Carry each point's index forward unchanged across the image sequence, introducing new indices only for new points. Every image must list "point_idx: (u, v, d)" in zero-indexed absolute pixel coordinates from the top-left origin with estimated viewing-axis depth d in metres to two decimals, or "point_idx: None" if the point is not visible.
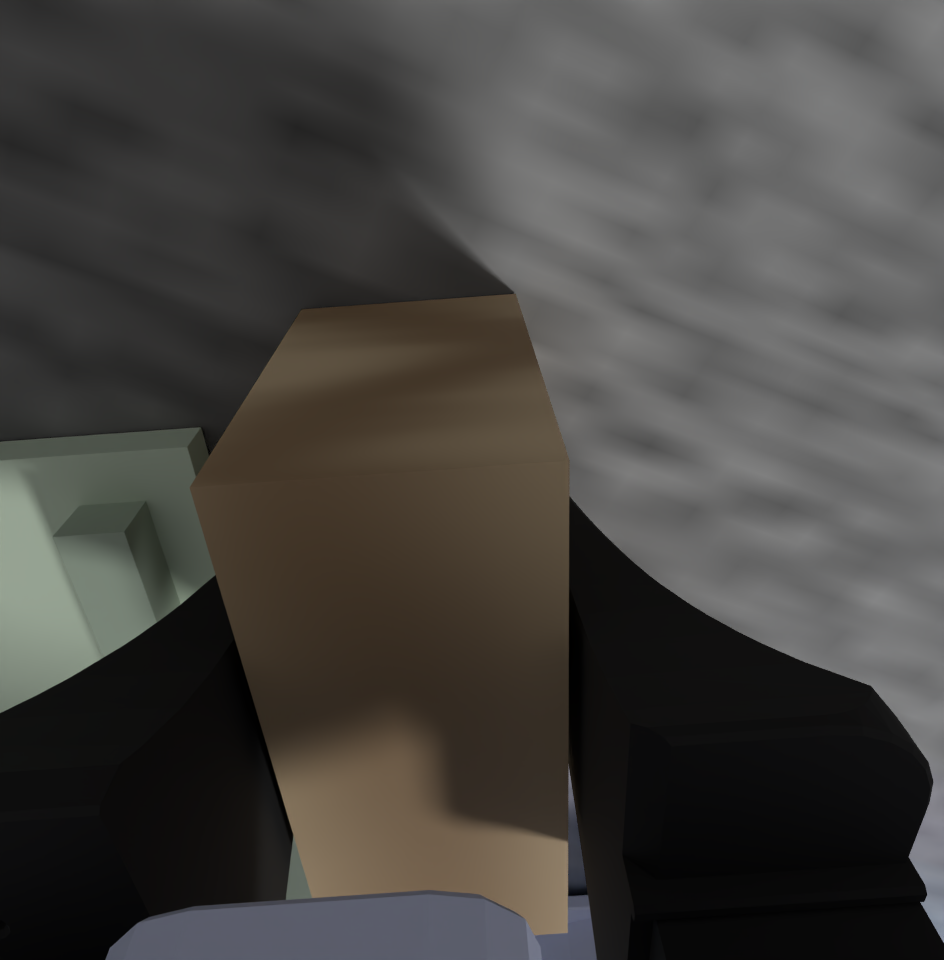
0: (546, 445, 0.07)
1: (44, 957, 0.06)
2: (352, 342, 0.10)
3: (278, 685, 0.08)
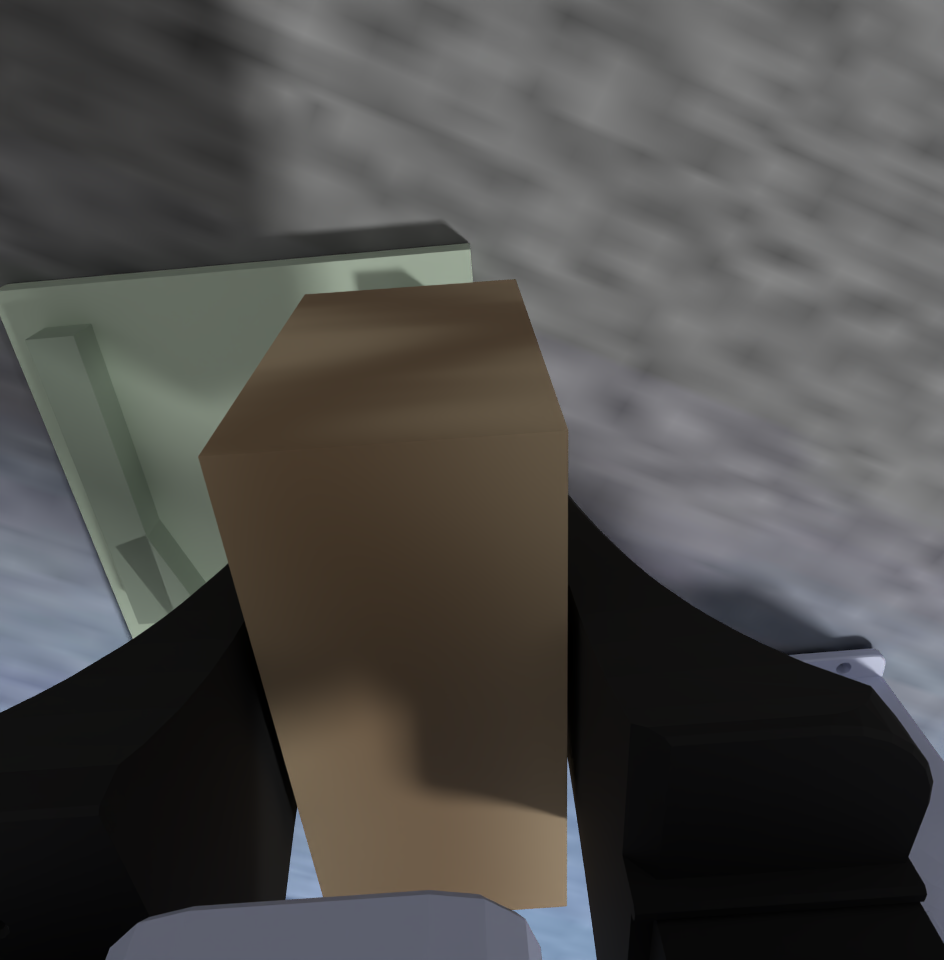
0: (545, 417, 0.07)
1: (43, 957, 0.06)
2: (355, 324, 0.10)
3: (283, 655, 0.08)
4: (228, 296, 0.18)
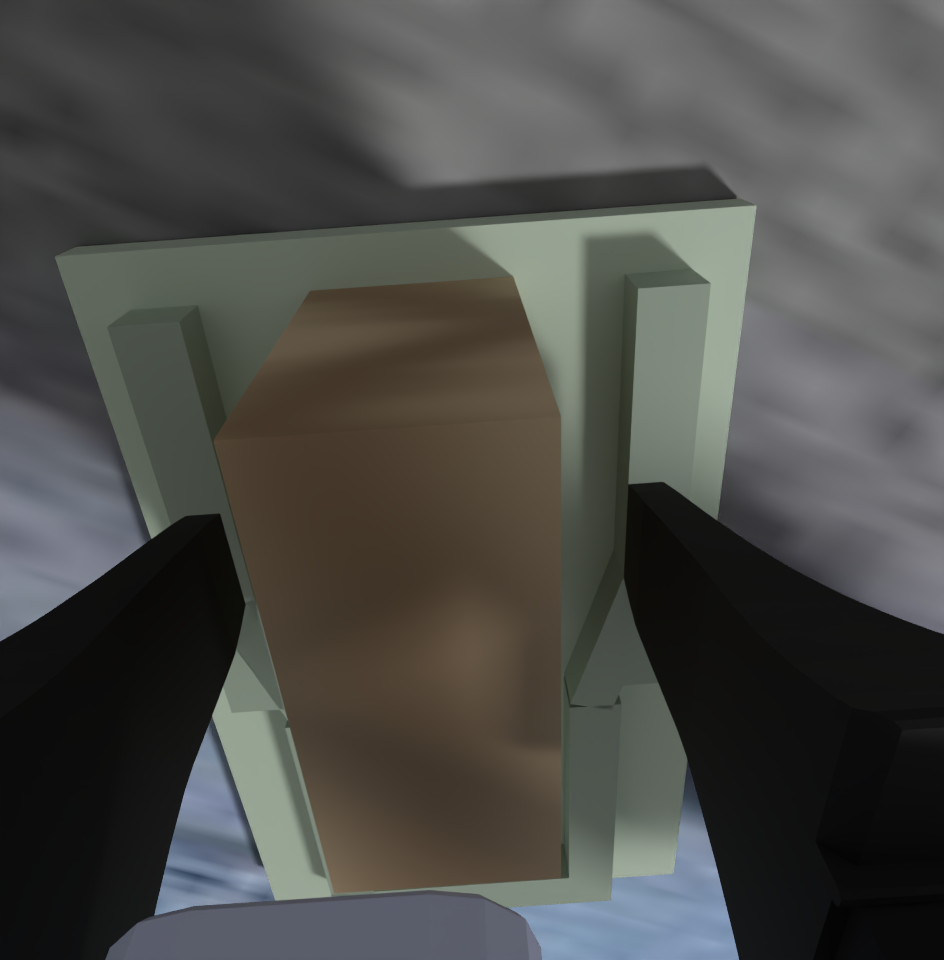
0: (540, 404, 0.08)
1: None
2: (359, 319, 0.11)
3: (292, 631, 0.09)
4: (398, 268, 0.12)
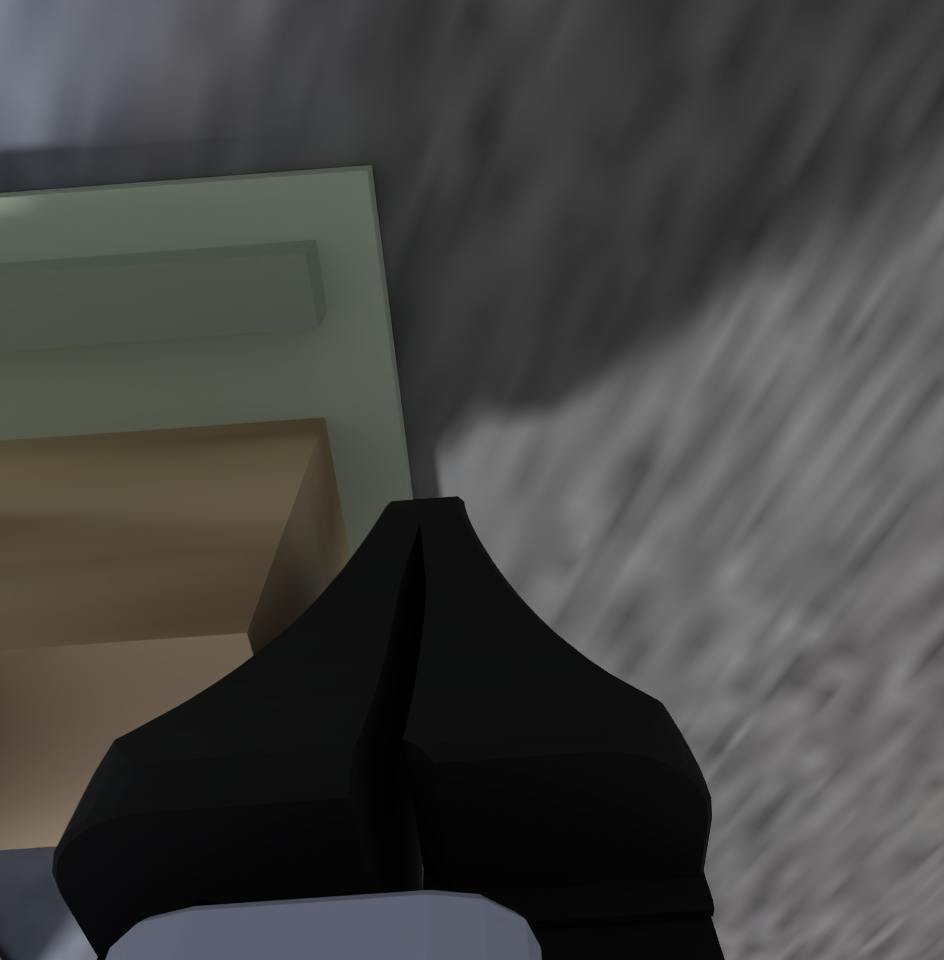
0: None
1: None
2: (317, 522, 0.12)
3: (32, 669, 0.08)
4: (376, 488, 0.14)
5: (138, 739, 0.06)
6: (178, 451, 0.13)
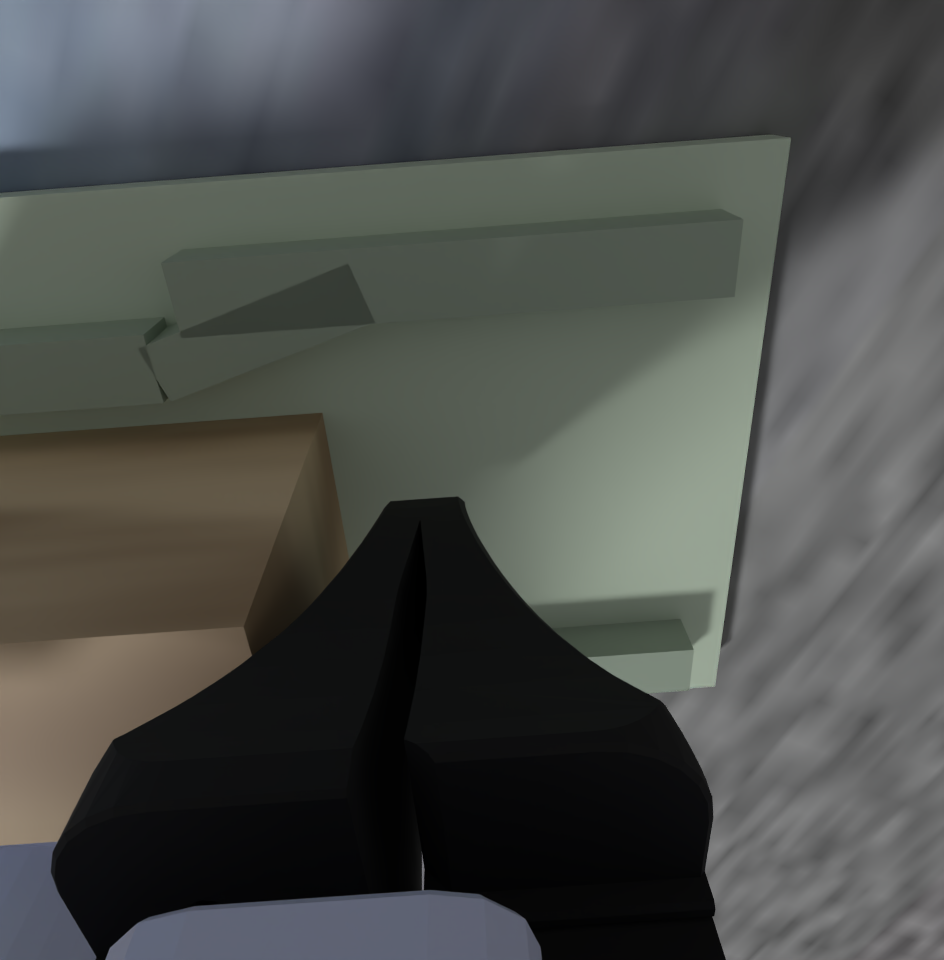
0: None
1: None
2: (315, 517, 0.12)
3: (27, 663, 0.08)
4: (714, 463, 0.14)
5: (137, 739, 0.06)
6: (175, 446, 0.13)
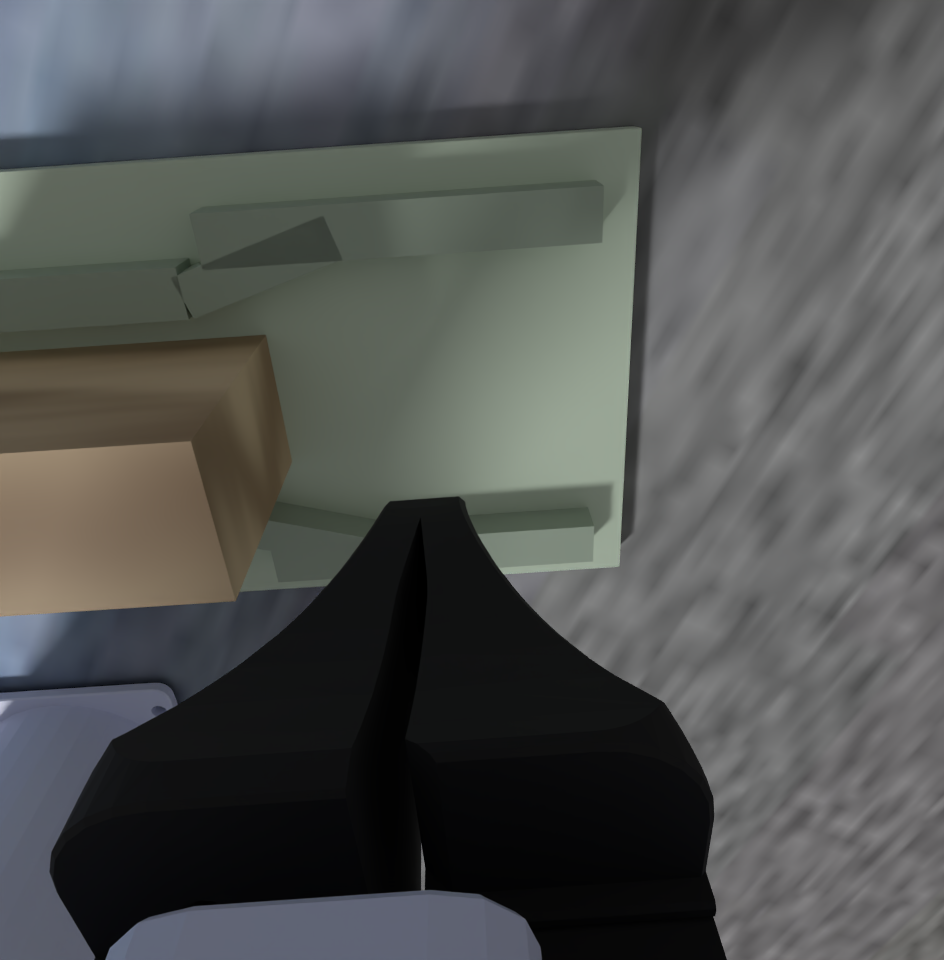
0: (238, 583, 0.15)
1: None
2: (256, 406, 0.17)
3: (50, 466, 0.13)
4: (605, 377, 0.19)
5: (136, 739, 0.06)
6: (154, 354, 0.17)
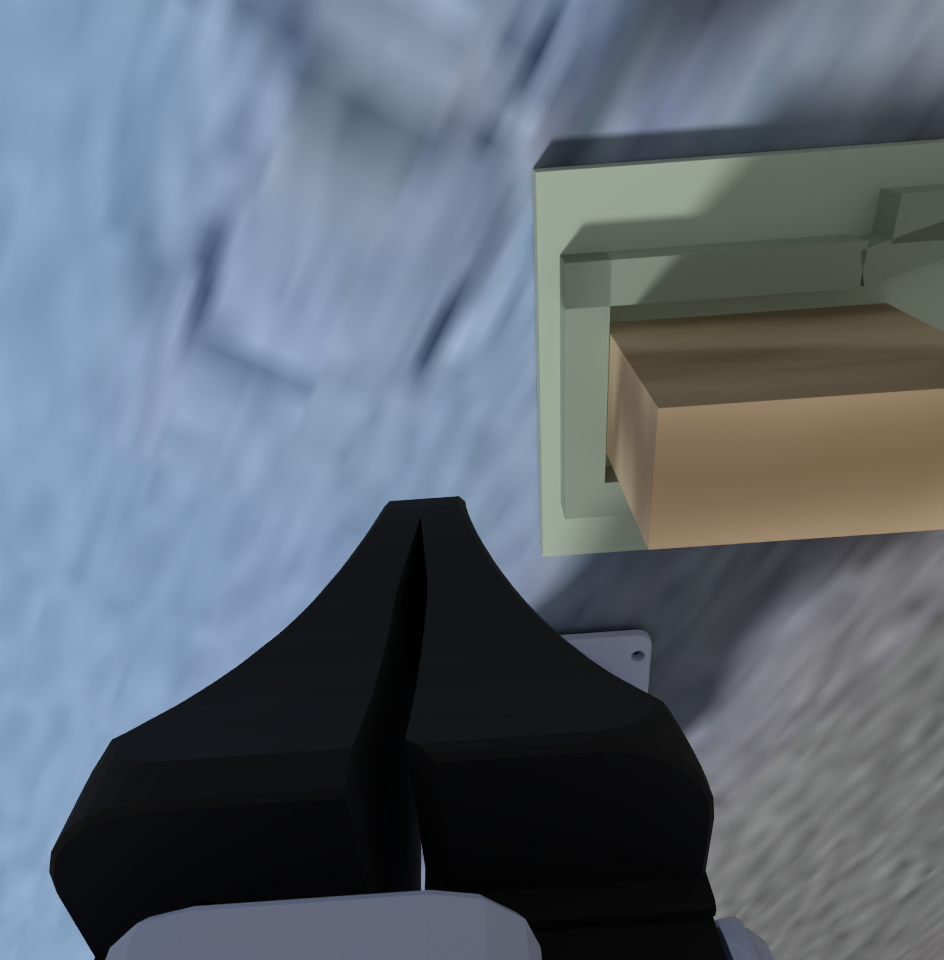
0: None
1: None
2: None
3: (912, 404, 0.15)
4: None
5: (136, 738, 0.06)
6: (816, 319, 0.19)
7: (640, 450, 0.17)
